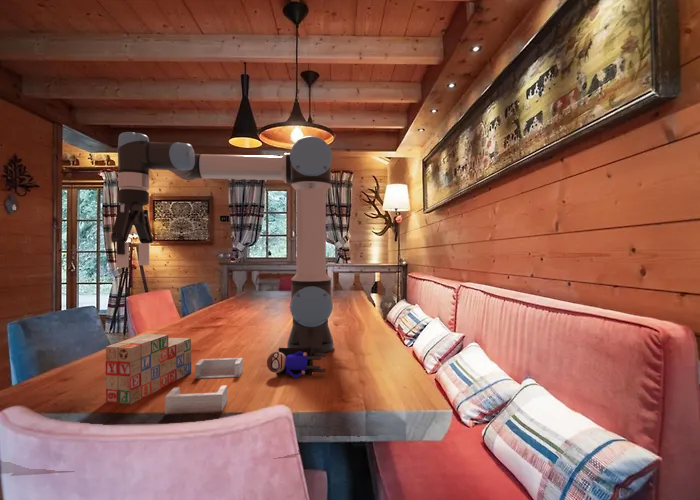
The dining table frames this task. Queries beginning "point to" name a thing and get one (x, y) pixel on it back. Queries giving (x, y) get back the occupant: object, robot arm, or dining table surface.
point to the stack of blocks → (145, 366)
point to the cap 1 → (195, 402)
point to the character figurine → (294, 361)
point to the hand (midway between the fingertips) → (133, 266)
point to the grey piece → (218, 368)
